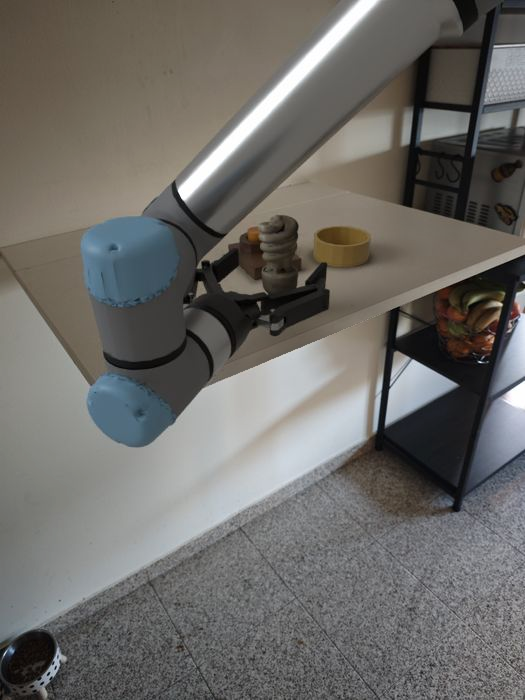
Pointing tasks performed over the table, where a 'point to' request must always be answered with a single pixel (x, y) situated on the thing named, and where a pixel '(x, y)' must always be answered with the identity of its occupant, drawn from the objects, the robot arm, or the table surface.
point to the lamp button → (253, 234)
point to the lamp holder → (341, 246)
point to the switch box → (254, 256)
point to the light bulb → (279, 253)
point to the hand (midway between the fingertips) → (278, 263)
